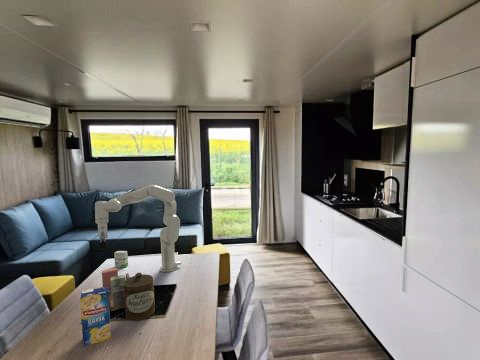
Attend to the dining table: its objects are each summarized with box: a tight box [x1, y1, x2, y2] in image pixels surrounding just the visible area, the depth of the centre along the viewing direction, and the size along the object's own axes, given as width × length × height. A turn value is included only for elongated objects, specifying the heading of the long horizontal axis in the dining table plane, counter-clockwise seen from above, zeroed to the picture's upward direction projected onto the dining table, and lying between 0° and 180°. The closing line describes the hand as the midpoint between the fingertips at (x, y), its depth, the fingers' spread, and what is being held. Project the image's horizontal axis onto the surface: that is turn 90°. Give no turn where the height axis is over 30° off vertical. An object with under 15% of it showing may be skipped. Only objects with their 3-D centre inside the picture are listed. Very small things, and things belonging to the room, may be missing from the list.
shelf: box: [109, 272, 130, 312], centre depth 153 cm, size 12×23×11 cm, turn 30°
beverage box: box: [80, 286, 112, 347], centre depth 118 cm, size 7×11×22 cm, turn 117°
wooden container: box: [124, 272, 156, 322], centre depth 138 cm, size 15×15×22 cm
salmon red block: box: [101, 267, 119, 289], centre depth 169 cm, size 9×4×11 cm, turn 120°
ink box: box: [113, 250, 129, 269], centre depth 202 cm, size 9×5×12 cm, turn 84°
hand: (102, 246), depth 169 cm, fingers open, 9 cm apart
